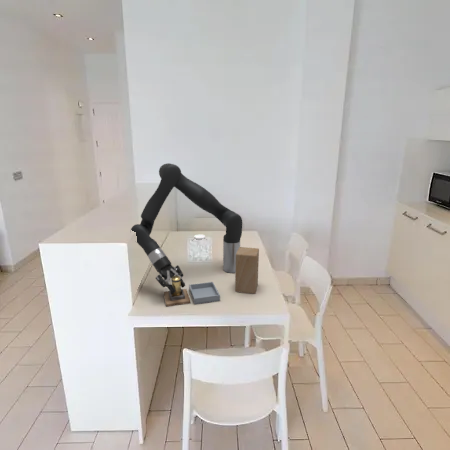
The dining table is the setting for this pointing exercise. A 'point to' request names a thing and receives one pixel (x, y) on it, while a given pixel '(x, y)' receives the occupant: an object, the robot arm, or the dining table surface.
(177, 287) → the pin
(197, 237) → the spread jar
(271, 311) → the dining table surface
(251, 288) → the wooden block
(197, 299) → the tray
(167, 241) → the dining table surface
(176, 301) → the pin dock
